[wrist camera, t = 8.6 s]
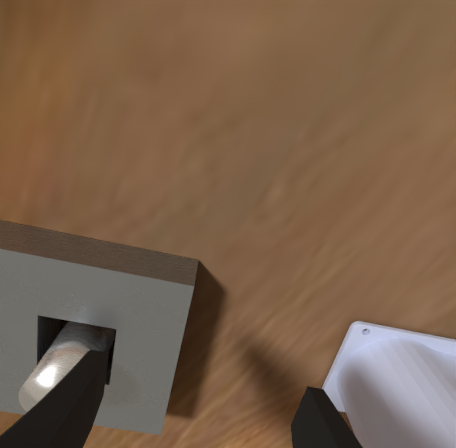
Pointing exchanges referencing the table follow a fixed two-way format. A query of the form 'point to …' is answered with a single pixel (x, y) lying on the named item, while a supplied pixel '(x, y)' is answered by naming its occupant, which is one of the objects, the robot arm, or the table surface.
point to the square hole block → (94, 316)
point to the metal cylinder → (63, 358)
